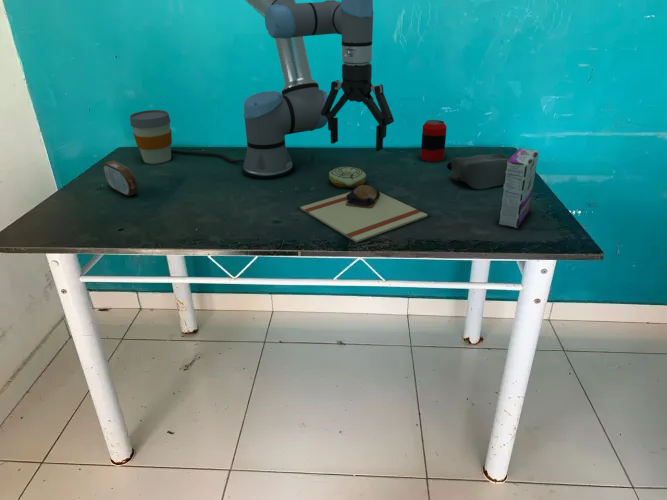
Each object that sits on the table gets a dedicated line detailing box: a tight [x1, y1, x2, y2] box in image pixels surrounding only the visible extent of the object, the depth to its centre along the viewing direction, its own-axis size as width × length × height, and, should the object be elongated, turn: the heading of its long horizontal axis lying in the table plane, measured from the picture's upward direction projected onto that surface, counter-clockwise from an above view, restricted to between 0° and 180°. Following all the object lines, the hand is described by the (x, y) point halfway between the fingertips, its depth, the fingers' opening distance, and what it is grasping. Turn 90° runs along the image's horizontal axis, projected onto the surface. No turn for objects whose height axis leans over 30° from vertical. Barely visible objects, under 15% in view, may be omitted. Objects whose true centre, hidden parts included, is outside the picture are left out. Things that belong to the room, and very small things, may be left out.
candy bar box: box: [498, 148, 540, 229], centre depth 127 cm, size 11×5×16 cm, turn 148°
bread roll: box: [346, 184, 381, 208], centre depth 141 cm, size 11×8×4 cm
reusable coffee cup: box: [129, 109, 173, 165], centre depth 172 cm, size 13×13×15 cm
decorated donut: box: [328, 166, 367, 189], centre depth 153 cm, size 10×11×4 cm
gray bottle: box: [446, 153, 511, 190], centre depth 151 cm, size 18×11×8 cm, turn 104°
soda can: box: [420, 119, 448, 163], centre depth 169 cm, size 8×8×12 cm
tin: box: [102, 159, 139, 197], centre depth 149 cm, size 15×3×8 cm, turn 47°
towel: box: [299, 191, 428, 244], centre depth 135 cm, size 24×23×1 cm
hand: (356, 146), depth 140 cm, fingers open, 13 cm apart
